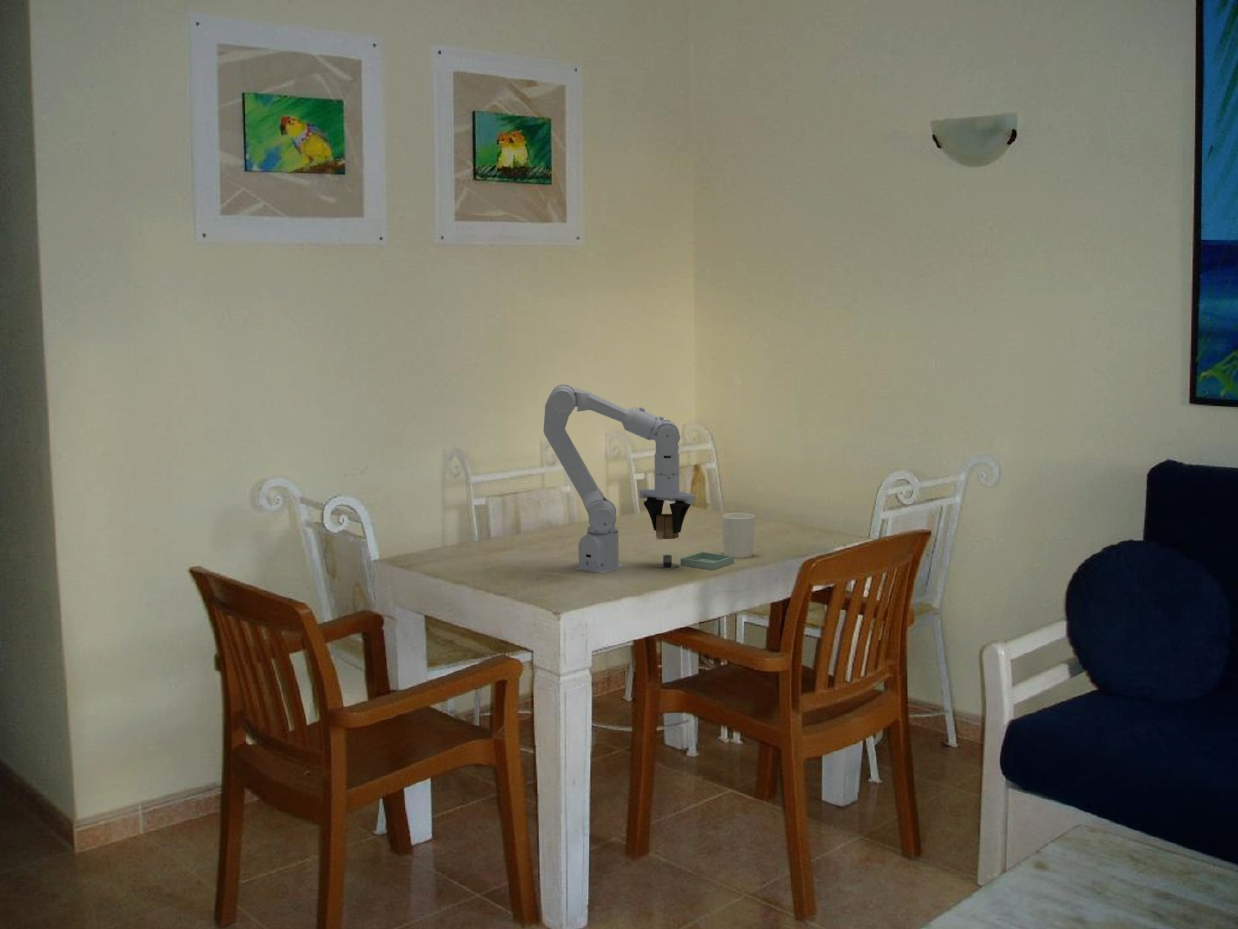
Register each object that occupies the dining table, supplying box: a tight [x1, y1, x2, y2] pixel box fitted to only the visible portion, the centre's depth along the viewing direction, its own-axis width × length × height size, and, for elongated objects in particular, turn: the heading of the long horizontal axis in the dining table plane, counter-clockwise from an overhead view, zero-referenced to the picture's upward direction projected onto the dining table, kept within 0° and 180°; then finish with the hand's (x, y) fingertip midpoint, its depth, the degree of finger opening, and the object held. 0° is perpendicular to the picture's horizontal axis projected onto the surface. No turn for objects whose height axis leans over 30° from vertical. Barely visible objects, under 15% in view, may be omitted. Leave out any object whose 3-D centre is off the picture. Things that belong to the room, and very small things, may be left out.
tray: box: [680, 551, 735, 571], centre depth 301 cm, size 9×9×2 cm
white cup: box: [721, 512, 756, 559], centre depth 311 cm, size 8×8×10 cm
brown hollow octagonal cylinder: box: [655, 513, 680, 541], centre depth 298 cm, size 6×5×5 cm
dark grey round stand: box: [655, 554, 680, 570], centre depth 300 cm, size 6×6×3 cm
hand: (667, 531), depth 299 cm, fingers closed on brown hollow octagonal cylinder, 5 cm apart
